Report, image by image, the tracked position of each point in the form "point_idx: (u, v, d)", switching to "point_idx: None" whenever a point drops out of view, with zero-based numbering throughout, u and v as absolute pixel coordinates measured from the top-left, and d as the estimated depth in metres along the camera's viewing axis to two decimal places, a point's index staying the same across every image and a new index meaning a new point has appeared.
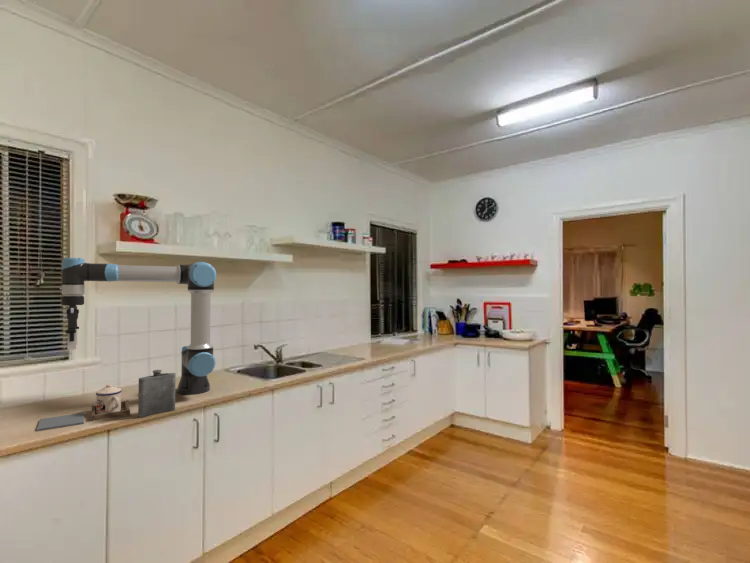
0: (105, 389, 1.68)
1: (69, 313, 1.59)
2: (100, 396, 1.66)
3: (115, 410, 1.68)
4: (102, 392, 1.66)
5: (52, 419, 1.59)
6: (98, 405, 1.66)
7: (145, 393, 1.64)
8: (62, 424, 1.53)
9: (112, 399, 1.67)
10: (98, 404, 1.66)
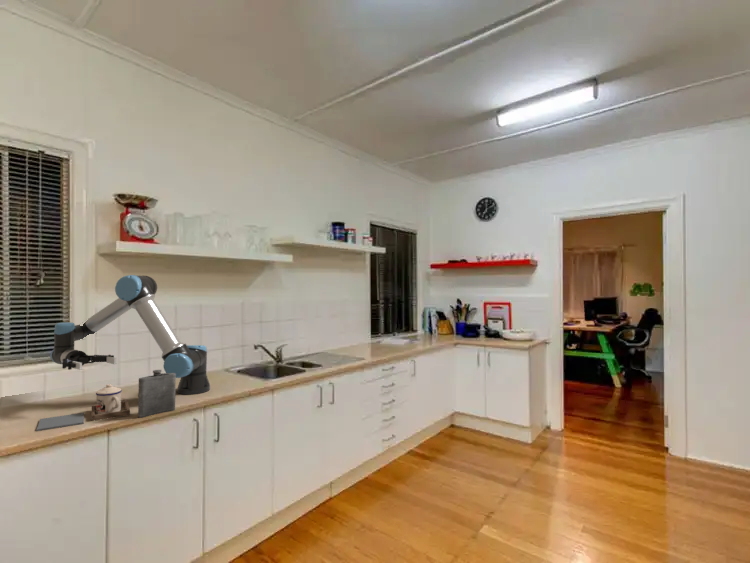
0: (105, 389, 1.68)
1: None
2: (100, 396, 1.66)
3: (115, 410, 1.68)
4: (102, 392, 1.66)
5: (52, 419, 1.59)
6: (98, 405, 1.66)
7: (145, 393, 1.64)
8: (62, 424, 1.53)
9: (112, 399, 1.67)
10: (98, 404, 1.66)
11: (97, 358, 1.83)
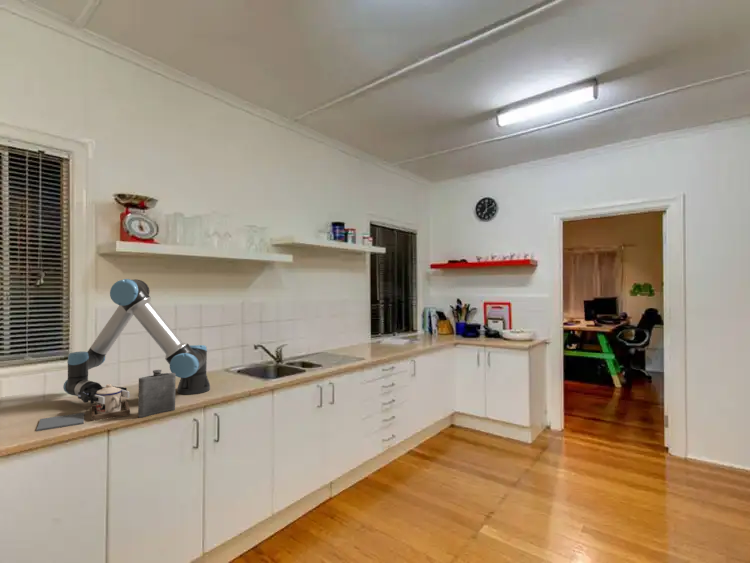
0: (105, 389, 1.68)
1: (80, 398, 1.68)
2: None
3: (115, 410, 1.68)
4: (102, 392, 1.66)
5: (52, 419, 1.59)
6: (98, 405, 1.66)
7: (145, 393, 1.64)
8: (62, 424, 1.53)
9: (112, 399, 1.67)
10: (98, 404, 1.66)
11: None
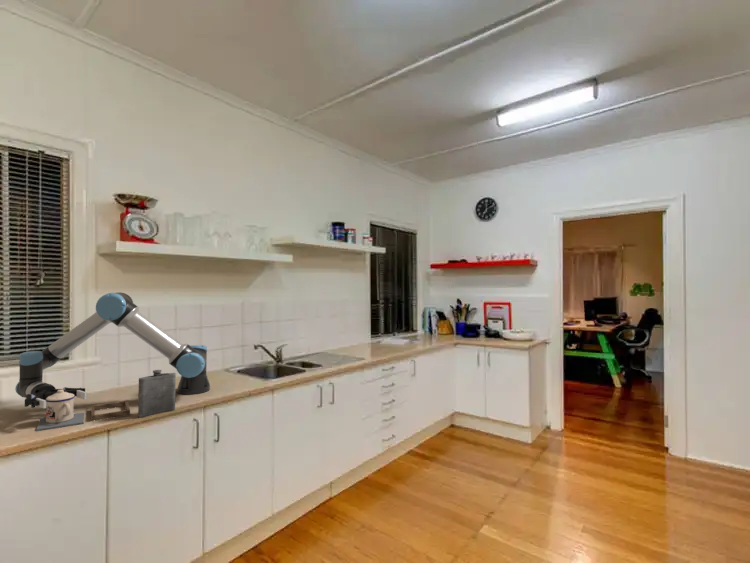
0: (56, 395, 1.56)
1: None
2: (50, 403, 1.54)
3: (66, 418, 1.57)
4: (52, 398, 1.55)
5: None
6: (47, 412, 1.54)
7: (145, 393, 1.64)
8: (62, 424, 1.53)
9: (63, 406, 1.56)
10: (48, 411, 1.54)
11: None
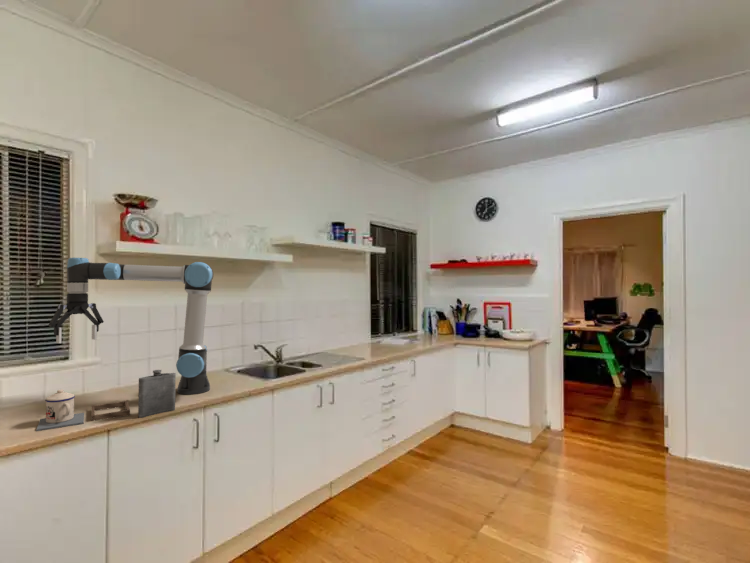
0: (55, 395, 1.56)
1: (57, 309, 1.71)
2: (49, 403, 1.54)
3: (66, 417, 1.57)
4: (52, 398, 1.55)
5: None
6: (47, 412, 1.54)
7: (145, 393, 1.64)
8: (62, 424, 1.53)
9: (63, 406, 1.56)
10: (48, 411, 1.54)
11: (88, 317, 1.81)
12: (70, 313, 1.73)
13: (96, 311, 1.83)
